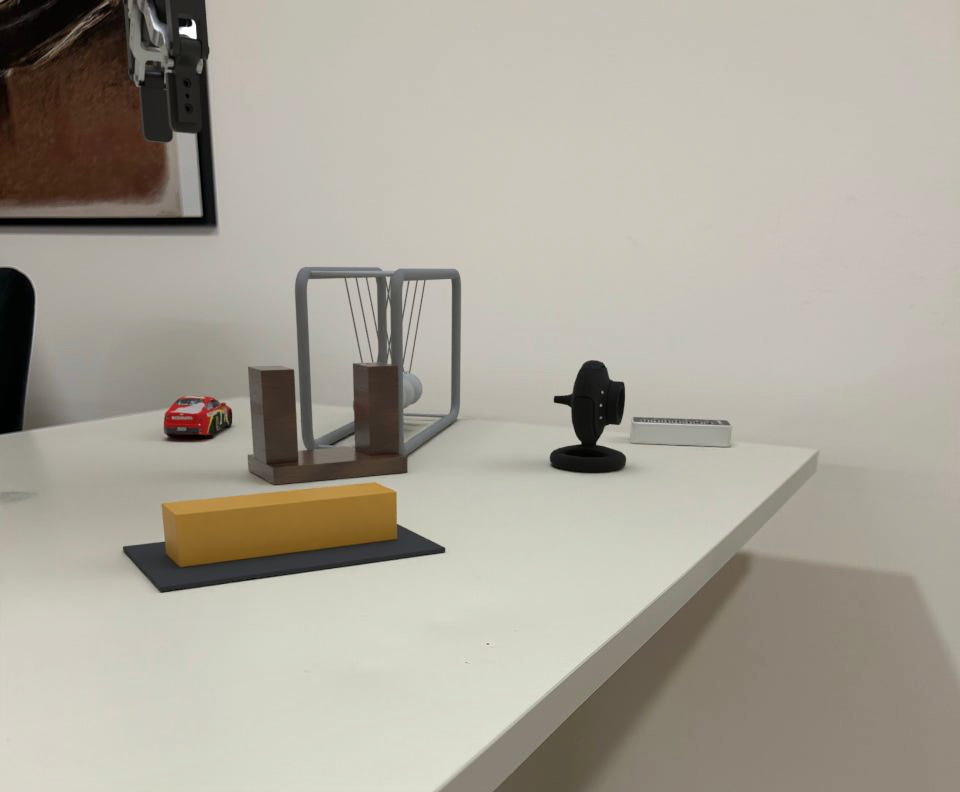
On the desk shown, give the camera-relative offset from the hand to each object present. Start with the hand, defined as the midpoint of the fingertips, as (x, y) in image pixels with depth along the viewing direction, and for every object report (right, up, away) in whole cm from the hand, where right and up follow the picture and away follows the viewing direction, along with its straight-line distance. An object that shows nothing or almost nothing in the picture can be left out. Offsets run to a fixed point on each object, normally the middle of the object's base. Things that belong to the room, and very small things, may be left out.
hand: (171, 137), depth 75 cm
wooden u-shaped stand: (+9, -23, +17) cm, 30 cm away
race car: (-8, -15, +36) cm, 40 cm away
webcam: (+34, -21, +22) cm, 46 cm away
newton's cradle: (+13, -15, +37) cm, 42 cm away
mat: (+10, -32, -9) cm, 35 cm away
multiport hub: (+46, -16, +36) cm, 61 cm away
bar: (+10, -32, -9) cm, 35 cm away
